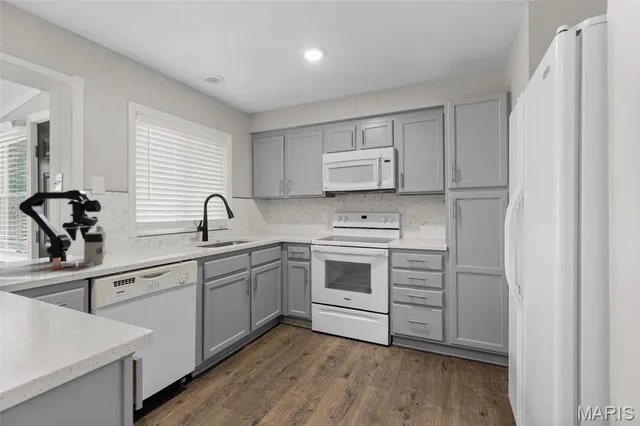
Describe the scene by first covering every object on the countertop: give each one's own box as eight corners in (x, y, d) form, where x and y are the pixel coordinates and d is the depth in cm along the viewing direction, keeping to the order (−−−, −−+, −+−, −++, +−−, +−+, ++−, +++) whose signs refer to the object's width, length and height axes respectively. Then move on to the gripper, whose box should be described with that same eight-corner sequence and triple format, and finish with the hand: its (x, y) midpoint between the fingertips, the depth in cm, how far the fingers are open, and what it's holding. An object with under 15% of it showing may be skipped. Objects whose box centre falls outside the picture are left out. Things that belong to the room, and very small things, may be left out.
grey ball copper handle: (65, 265, 154) (65, 255, 154) (78, 265, 155) (78, 254, 155) (47, 270, 142) (47, 258, 142) (61, 270, 143) (61, 258, 143)
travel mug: (80, 266, 160) (81, 232, 160) (97, 264, 167) (98, 232, 167) (88, 268, 156) (89, 233, 156) (105, 266, 163) (106, 232, 163)
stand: (27, 274, 140) (27, 266, 140) (49, 268, 154) (49, 261, 154) (77, 273, 143) (77, 266, 143) (94, 268, 157) (94, 261, 157)
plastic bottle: (108, 257, 195) (108, 225, 195) (96, 258, 188) (97, 226, 188) (102, 256, 197) (102, 225, 197) (90, 257, 191) (91, 225, 191)
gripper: (84, 212, 163) (85, 241, 163) (103, 212, 182) (104, 238, 182) (61, 212, 161) (62, 241, 162) (83, 212, 180) (83, 238, 180)
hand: (79, 240), depth 171 cm, fingers open, 9 cm apart
